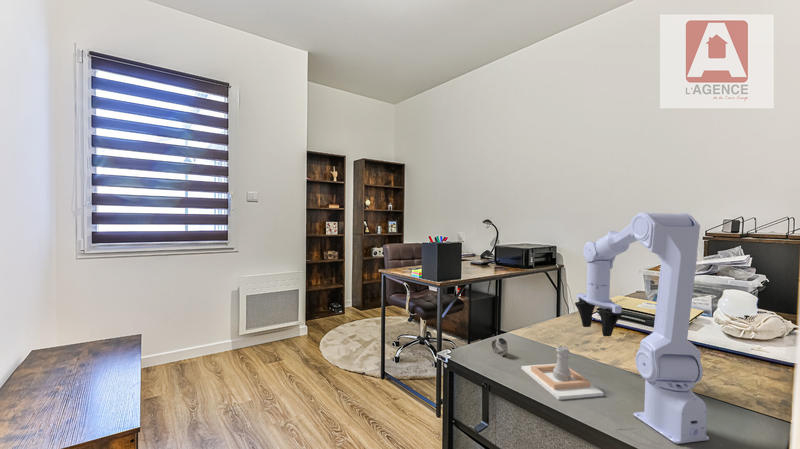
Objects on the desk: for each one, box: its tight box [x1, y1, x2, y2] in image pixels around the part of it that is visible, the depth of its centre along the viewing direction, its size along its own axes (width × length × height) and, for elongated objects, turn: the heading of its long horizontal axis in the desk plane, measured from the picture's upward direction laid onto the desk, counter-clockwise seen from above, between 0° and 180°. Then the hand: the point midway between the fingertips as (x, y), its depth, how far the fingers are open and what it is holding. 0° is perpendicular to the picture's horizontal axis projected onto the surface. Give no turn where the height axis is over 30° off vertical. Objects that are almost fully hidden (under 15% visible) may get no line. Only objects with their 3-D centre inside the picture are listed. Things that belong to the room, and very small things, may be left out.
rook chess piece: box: [553, 345, 571, 381], centre depth 87 cm, size 4×4×8 cm
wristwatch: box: [490, 337, 509, 357], centre depth 104 cm, size 4×6×5 cm, turn 22°
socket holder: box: [520, 363, 604, 401], centre depth 86 cm, size 16×12×2 cm
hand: (596, 331), depth 95 cm, fingers open, 7 cm apart
